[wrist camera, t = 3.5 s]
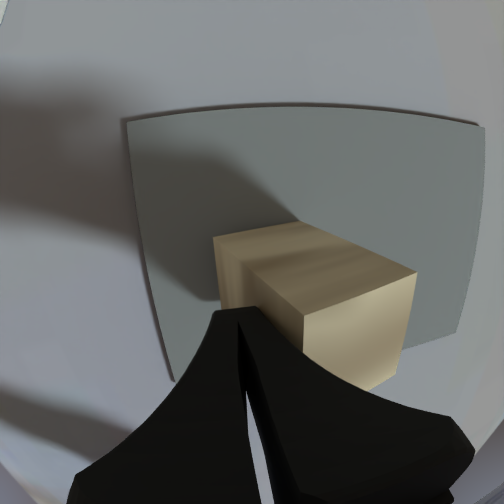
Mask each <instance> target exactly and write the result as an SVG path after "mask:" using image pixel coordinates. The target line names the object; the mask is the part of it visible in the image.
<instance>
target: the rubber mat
mask: <svg viewBox="0 0 504 504" xmlns="http://www.w3.org/2000/svg"><path fill="white" fill-rule="evenodd" d="M127 133H128V144H129V154H130V164H131V172H132V180H133V188H134V196H135V203H136V209H137V216H138V222H139V228H140V234H141V240H142V245H143V251H144V256H145V261H146V266H147V271H148V276H149V281H150V286H151V290H152V295H153V299H154V304H155V308H156V312H157V316H158V320H159V325H160V328H161V332H162V336H163V340H164V344H165V348H166V351H167V355H168V359H169V362H170V366H171V369H172V373H173V376H174V379H175V383H176V384H177V383H178V381H179V380H180V378H181V377H182V375H183V374H184V372H185V371H186V369H187V367H188V366H189V364H190V362H191V361H192V359H193V357H194V355H195V354H196V352H197V350H198V348H199V346H200V344H201V342H202V340H203V338H204V336H205V333H206V331H207V329H208V326H209V323H210V320H211V317H212V314H213V312H214V311H215V310H221V302H220V294H219V286H218V278H217V269H216V261H215V252H214V243H213V237H216V236H221V235H226V234H232V233H237V232H242V231H247V230H252V229H258V228H263V227H268V226H274V225H279V224H285V223H290V222H296V221H302V222H304V223H307V224H309V225H311V226H314V227H316V228H319V229H321V230H323V231H326V232H328V233H331V234H333V235H335V236H338V237H340V238H342V239H345V240H347V241H349V242H352V243H354V244H356V245H359V246H361V247H363V248H365V249H368V250H370V251H372V252H374V253H377V254H379V255H381V256H383V257H386V258H388V259H390V260H392V261H395V262H397V263H399V264H401V265H403V266H405V267H408V268H410V269H412V270H414V271H416V272H417V278H416V284H415V290H414V296H413V301H412V306H411V311H410V316H409V321H408V325H407V330H406V334H405V338H404V342H403V346H402V350H403V349H407V348H410V347H413V346H417V345H420V344H423V343H426V342H429V341H432V340H435V339H439V338H441V337H444V336H447V335H450V334H453V333H456V330H457V326H458V323H459V320H460V316H461V313H462V309H463V305H464V302H465V298H466V294H467V290H468V285H469V281H470V276H471V272H472V267H473V262H474V257H475V251H476V245H477V239H478V233H479V225H480V218H481V209H482V199H483V187H484V170H485V128H484V127H480V126H475V125H471V124H466V123H461V122H456V121H451V120H445V119H439V118H433V117H427V116H420V115H413V114H405V113H397V112H388V111H378V110H366V109H352V108H332V107H258V108H238V109H224V110H212V111H201V112H192V113H183V114H175V115H168V116H160V117H154V118H147V119H141V120H136V121H130V122H127Z"/></svg>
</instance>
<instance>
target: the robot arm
mask: <svg viewBox="0 0 504 504" xmlns="http://www.w3.org/2000/svg"><path fill="white" fill-rule="evenodd" d="M246 392H247V395H248V399H249V402H250V406H251V409H252V413H253V416H254V419H255V423H256V426H257V429H258V433H259V436H260V439H261V443H262V446H263V450H264V454H265V459H266V464H267V469H268V474H269V479H270V484H271V489H272V494H273V499H274V504H452V503H453V502H454V497H453V496H452V494H451V492H450V490H449V488H450V487H451V486H452V485H453V484H454V483H455V481H456V480H457V479H458V478H459V477H460V476H461V475H462V473H463V472H464V471H465V470H466V469H467V468H468V466H469V465H470V463H471V462H472V460H473V457H474V454H475V449H474V447H473V446H472V444H471V443H470V441H469V440H468V438H467V437H466V435H465V434H464V433H463V431H462V430H461V429H460V427H459V426H458V425H457V424H456V423H455V421H454V420H453V419H452V418H451V417H449V416H445V415H440V414H436V413H431V412H427V411H423V410H419V409H414V408H411V407H407V406H404V405H401V404H398V403H395V402H392V401H390V400H387V399H384V398H381V397H379V396H376V395H374V394H372V393H369V392H367V391H365V390H363V389H361V388H359V387H357V386H354V385H352V384H350V383H348V382H346V381H344V380H343V379H341V378H339V377H337V376H336V375H334V374H332V373H331V372H329V371H328V370H326V369H324V368H323V367H321V366H320V365H319V364H317V363H316V362H314V361H313V360H312V359H310V358H309V357H308V356H306V355H305V354H304V353H303V352H301V351H300V350H299V349H298V348H297V347H295V346H294V345H293V344H292V343H291V342H290V341H289V340H288V339H287V338H286V337H285V336H283V335H282V334H281V333H280V332H279V331H278V330H277V329H276V328H275V327H274V326H273V324H272V323H271V322H270V321H269V320H268V319H267V318H266V317H265V316H264V314H263V313H262V312H261V311H260V309H259V308H258V307H256V306H248V307H240V308H232V309H223V310H215V311H214V312H213V314H212V317H211V320H210V323H209V326H208V329H207V331H206V333H205V336H204V338H203V340H202V342H201V344H200V346H199V348H198V350H197V352H196V354H195V355H194V357H193V359H192V361H191V362H190V364H189V366H188V367H187V369H186V371H185V372H184V374H183V375H182V377H181V378H180V380H179V381H178V383H177V384H176V385H175V387H174V388H173V389H172V391H171V392H170V393H169V395H168V396H167V397H166V398H165V399H164V401H163V402H162V403H161V404H160V405H159V406H158V408H157V409H156V410H155V411H154V412H153V413H152V414H151V415H150V416H149V417H148V419H147V420H146V421H145V422H144V423H143V424H142V425H140V426H139V427H138V428H137V429H136V430H135V431H134V432H133V433H132V434H130V435H129V436H128V437H127V438H126V439H125V440H124V441H123V442H121V443H120V444H119V445H118V446H117V447H115V448H114V449H113V450H112V451H110V452H109V453H108V454H106V455H105V456H103V457H102V458H100V459H99V460H97V461H96V462H94V463H93V464H91V465H90V466H88V467H87V468H85V469H84V470H82V471H81V472H79V473H77V474H76V475H75V477H74V481H73V483H72V486H71V488H70V491H69V495H68V499H67V503H66V504H261V499H260V494H259V489H258V484H257V479H256V474H255V469H254V463H253V458H252V453H251V447H250V442H249V436H248V422H247V403H246ZM475 504H504V483H502V484H501V485H500V486H498V487H497V488H496V489H494V490H493V491H492V492H491V493H489V494H488V495H486V496H485V497H483V498H482V499H480V500H479V501H478V502H476V503H475Z"/></svg>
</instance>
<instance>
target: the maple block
mask: <svg viewBox="0 0 504 504" xmlns="http://www.w3.org/2000/svg"><path fill="white" fill-rule="evenodd" d="M213 243H214V252H215V261H216V269H217V278H218V286H219V294H220V302H221V310H223V309H232V308H240V307H248V306H256V307H258V308H259V309H260V311H261V312H262V313H263V314H264V316H265V317H266V318H267V319H268V320H269V321H270V322H271V323H272V324H273V326H274V327H275V328H276V329H277V330H278V331H279V332H280V333H281V334H282V335H283V336H285V337H286V338H287V339H288V340H289V341H290V342H291V343H292V344H293V345H294V346H295V347H297V348H298V349H299V350H300V351H301V352H303V353H304V354H305V355H306V356H308V357H309V358H310V359H312V360H313V361H314V362H316V363H317V364H319V365H320V366H321V367H323V368H324V369H326V370H328V371H329V372H331V373H332V374H334V375H336V376H337V377H339V378H341V379H343V380H344V381H346V382H348V383H350V384H352V385H354V386H357V387H359V388H361V389H363V390H365V391H368V390H370V389H372V388H374V387H375V386H377V385H379V384H380V383H382V382H384V381H385V380H387V379H389V378H390V377H392V376H393V375H395V372H396V369H397V365H398V361H399V358H400V354H401V350H402V346H403V342H404V338H405V334H406V330H407V325H408V321H409V316H410V311H411V306H412V301H413V296H414V290H415V284H416V278H417V272H416V271H414V270H412V269H410V268H408V267H405V266H403V265H401V264H399V263H397V262H395V261H392V260H390V259H388V258H386V257H383V256H381V255H379V254H377V253H374V252H372V251H370V250H368V249H365V248H363V247H361V246H359V245H356V244H354V243H352V242H349V241H347V240H345V239H342V238H340V237H338V236H335V235H333V234H331V233H328V232H326V231H323V230H321V229H319V228H316V227H314V226H311V225H309V224H307V223H304V222H302V221H296V222H290V223H285V224H279V225H274V226H268V227H263V228H258V229H252V230H247V231H242V232H237V233H232V234H226V235H221V236H216V237H213Z"/></svg>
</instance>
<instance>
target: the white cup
mask: <svg viewBox="0 0 504 504" xmlns="http://www.w3.org/2000/svg"><path fill="white" fill-rule="evenodd" d="M7 3H8V0H0V24H1V22H2V20H3V16H4V13H5V9H6V6H7Z"/></svg>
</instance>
